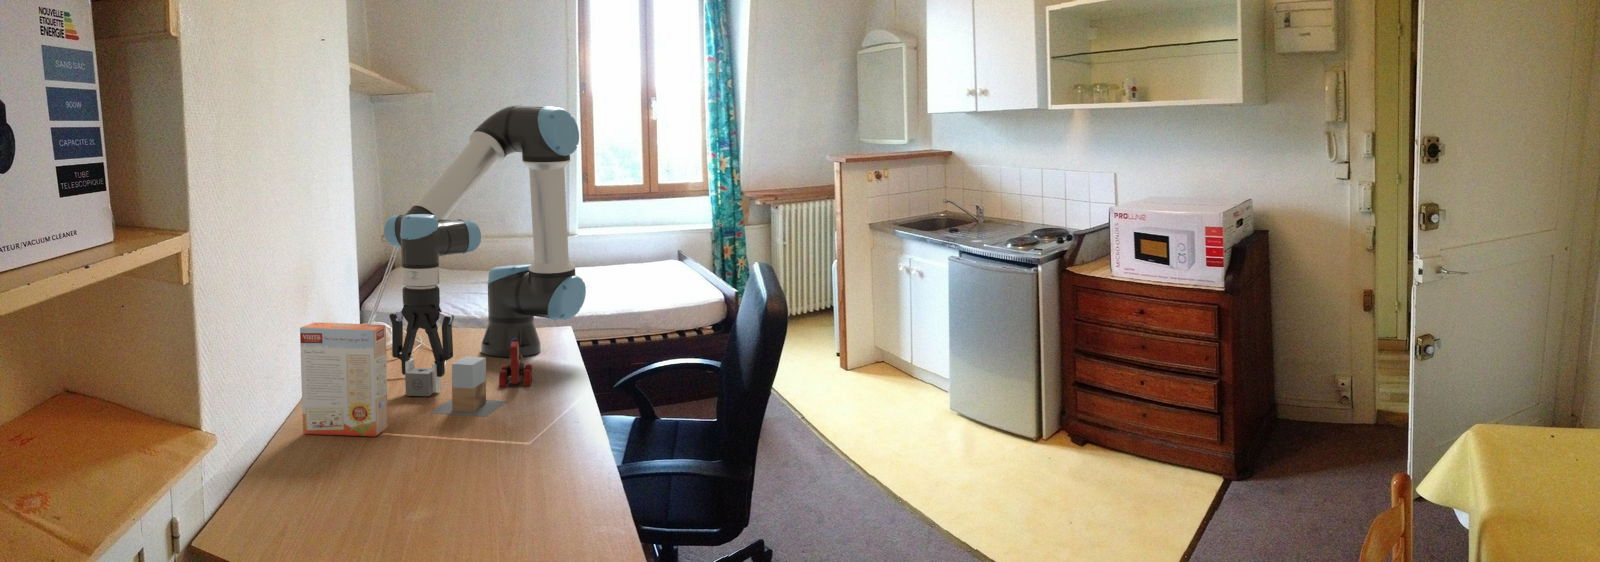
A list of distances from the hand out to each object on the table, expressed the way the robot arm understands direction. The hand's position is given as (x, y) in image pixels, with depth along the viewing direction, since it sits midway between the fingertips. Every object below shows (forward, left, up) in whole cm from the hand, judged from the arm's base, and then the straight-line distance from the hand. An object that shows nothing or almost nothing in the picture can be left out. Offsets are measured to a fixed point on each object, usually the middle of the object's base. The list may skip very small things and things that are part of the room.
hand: (423, 389), depth 216 cm
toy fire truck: (-14, +16, -1) cm, 21 cm away
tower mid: (+8, +14, +4) cm, 17 cm away
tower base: (+8, +14, -1) cm, 16 cm away
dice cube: (+1, 0, -1) cm, 1 cm away
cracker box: (+28, -2, -1) cm, 28 cm away
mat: (+8, +14, -1) cm, 16 cm away
